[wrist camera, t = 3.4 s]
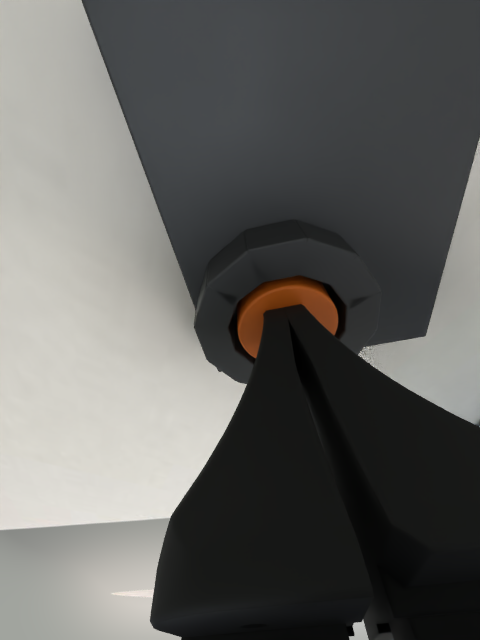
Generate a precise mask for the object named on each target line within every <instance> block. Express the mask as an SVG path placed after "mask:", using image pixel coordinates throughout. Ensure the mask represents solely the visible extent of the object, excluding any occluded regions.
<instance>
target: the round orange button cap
mask: <svg viewBox="0 0 480 640" xmlns="http://www.w3.org/2000/svg"><path fill="white" fill-rule="evenodd" d="M298 304H302V305H304V306H305V307H306V308H307V310H308V311H309V312H310V313H311V314H312V315H313V316H314V317H315V318H316V319H317V320H318V321H319V322H320V323H321V324H322V325H323V326H324V327H325V328H326V329H327V330H328V331H329V332H331V333H332V334H333V335H335V333H336V330H337V326H338V313H337V309H336V307H335V305H334V303H333V301H332V300H331V298H330V296H329V294H328V293H327V291H326V289H325V287H324V286H323V284H322V282H320V281H317V280H313V279H310V278H307V277H303V276H300V275H298V276H293V277H288V278H283V279H278V280H273V281H268V282H263V283H262V284H261V285H259V286H258V287H257V288H255V289H254V290H253V291H252V292H250V293H249V294H248V295H246V296H245V297H244V298H242V299H241V300H240V301H239V302H238V304H237V306H236V308H237V327H238V336H239V340H240V343H241V344H242V346H243V348H244V349H245V350H246V351H247V352H248V353H249V354H250V355H251V356H253V357H254V358H256V357H257V353H258V349H259V345H260V341H261V336H262V330H263V320H264V317H263V314H264V312H265V311H266V310H272V309H277V308H282V307H287V306H293V305H298Z"/></svg>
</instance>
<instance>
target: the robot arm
mask: <svg viewBox="0 0 480 640" xmlns="http://www.w3.org/2000/svg"><path fill="white" fill-rule="evenodd" d="M263 317H264V320H263V330H262V336H261V341H260V345H259V349H258V353H257V357H256V360H255V363H254V366H253V369H252V372H251V375H250V378H249V381H248V383H247V386H246V388H245V391H244V393H243V395H242V398H241V400H240V402H239V404H238V407H237V409H236V411H235V413H234V415H233V417H232V419H231V421H230V423H229V425H228V427H227V429H226V430H225V432H224V434H223V436H222V438H221V439H220V441H219V443H218V444H217V446H216V448H215V450H214V451H213V453H212V455H211V456H210V458H209V460H208V461H207V463H206V465H205V466H204V468H203V469H202V471H201V473H200V474H199V476H198V477H197V479H196V480H195V482H194V483H193V484H192V486H191V487H190V489H189V490H188V492H187V493H186V495H185V496H184V498H183V499H182V501H181V502H180V504H179V505H178V507H177V508H176V509H175V511H174V512H173V514H172V516H171V518H170V521H169V525H168V528H167V531H166V535H165V538H164V542H163V547H162V550H161V554H160V559H159V562H158V567H157V573H156V581H155V588H154V595H153V603H152V609H151V617H150V622H151V624H152V626H153V628H155V629H157V630H159V631H162V632H166V633H170V634H173V635H176V636H180V637H182V639H181V640H349V636H354V631H353V627H352V626H353V623H355V622H362V620H364V623H365V627H366V631H367V635H368V638H369V640H480V426H479V427H478V426H476V425H474V424H472V423H470V422H468V421H466V420H464V419H462V418H460V417H458V416H456V415H454V414H452V413H450V412H448V411H446V410H444V409H443V408H441V407H439V406H437V405H435V404H434V403H432V402H430V401H428V400H426V399H425V398H423V397H421V396H419V395H417V394H416V393H414V392H412V391H410V390H408V389H407V388H405V387H404V386H402V385H400V384H399V383H397V382H396V381H394V380H392V379H391V378H389V377H388V376H386V375H385V374H383V373H382V372H380V371H379V370H377V369H376V368H374V367H373V366H372V365H370V364H369V363H367V362H366V361H365V360H363V359H362V358H361V357H359V356H358V355H357V354H356V353H354V352H353V351H352V350H350V349H349V348H348V347H347V346H346V345H344V344H343V343H342V342H341V341H340V340H338V339H337V338H336V337H335V336H334V335H333V334H332V333H331V332H329V331H328V330H327V329H326V328H325V327H324V326H323V325H322V324H321V323H320V322H319V321H318V320H317V319H316V318H315V317H314V316H313V315H312V314H311V313H310V312H309V311H308V310H307V308H306V307H305V306H304V305H302V304H298V305H293V306H287V307H282V308H277V309H272V310H266V311H265V312H264V314H263Z"/></svg>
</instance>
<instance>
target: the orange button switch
mask: <svg viewBox="0 0 480 640" xmlns="http://www.w3.org/2000/svg"><path fill="white" fill-rule="evenodd" d="M82 3H83V6H84V8H85V11H86V14H87V17H88V19H89V22H90V25H91V27H92V30H93V33H94V36H95V38H96V41H97V44H98V46H99V49H100V52H101V55H102V57H103V60H104V63H105V65H106V68H107V71H108V74H109V76H110V79H111V82H112V84H113V87H114V90H115V93H116V95H117V98H118V101H119V103H120V106H121V109H122V112H123V114H124V117H125V120H126V122H127V125H128V128H129V131H130V133H131V136H132V139H133V141H134V144H135V147H136V150H137V152H138V155H139V158H140V160H141V163H142V166H143V168H144V171H145V174H146V177H147V179H148V182H149V185H150V187H151V190H152V193H153V196H154V198H155V201H156V204H157V206H158V209H159V212H160V215H161V217H162V220H163V223H164V225H165V228H166V231H167V234H168V236H169V239H170V242H171V244H172V247H173V250H174V253H175V255H176V258H177V261H178V263H179V266H180V269H181V272H182V274H183V277H184V280H185V282H186V285H187V288H188V291H189V293H190V296H191V299H192V301H193V304H194V307H195V310H196V315H195V321H194V328H195V331H196V333H197V336H198V339H199V341H200V344H201V346H202V349H203V351H204V354H205V356H206V359H207V360H208V361H209V362H210V363H211V364H213V365H214V366H215V367H217V369H218V371H219V372H221V371H222V372H224V373H225V374H227V375H228V376H229V377H231V378H232V379H234V380H235V381H238V382H240V383H245V384H247V383H248V381H249V378H250V375H251V372H252V369H253V366H254V363H255V360H256V358H254V357H253V356H251V355H250V354H249V353H248V352H247V351H246V350H245V349H244V348H243V346H242V344H241V343H240V340H239V336H238V327H237V308H236V306H237V304H238V302H239V301H240V300H241V299H242V298H244V297H245V296H246V295H248V294H249V293H250V292H252V291H253V290H254V289H255V288H257V287H258V286H259V285H261V284H262V283H263V282H268V281H273V280H278V279H283V278H288V277H293V276H298V275H300V276H303V277H307V278H310V279H313V280H317V281H320V282H322V284H323V286H324V287H325V289H326V291H327V293H328V294H329V296H330V298H331V300H332V301H333V303H334V305H335V307H336V309H337V313H338V326H337V330H336V333H335V335H334V336H335V337H336V338H337V339H338V340H340V341H341V342H342V343H343V344H344V345H346V346H347V347H348V348H349V349H350V350H352V351H353V352H354V353H356V354H357V355H358V354H359V352H360V351H361V350H362V349H363V347H366V346H372V345H378V344H383V343H389V342H395V341H401V340H407V339H412V338H418V337H424V336H426V333H427V329H428V325H429V321H430V318H431V314H432V310H433V307H434V303H435V299H436V296H437V292H438V288H439V285H440V281H441V277H442V274H443V270H444V266H445V263H446V259H447V255H448V251H449V248H450V244H451V240H452V237H453V233H454V229H455V226H456V222H457V218H458V215H459V211H460V207H461V204H462V200H463V196H464V193H465V189H466V185H467V181H468V178H469V174H470V170H471V167H472V163H473V159H474V156H475V152H476V148H477V145H478V141H479V137H480V0H82Z"/></svg>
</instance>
